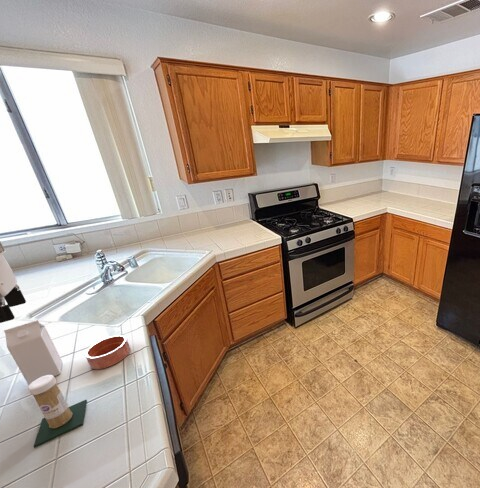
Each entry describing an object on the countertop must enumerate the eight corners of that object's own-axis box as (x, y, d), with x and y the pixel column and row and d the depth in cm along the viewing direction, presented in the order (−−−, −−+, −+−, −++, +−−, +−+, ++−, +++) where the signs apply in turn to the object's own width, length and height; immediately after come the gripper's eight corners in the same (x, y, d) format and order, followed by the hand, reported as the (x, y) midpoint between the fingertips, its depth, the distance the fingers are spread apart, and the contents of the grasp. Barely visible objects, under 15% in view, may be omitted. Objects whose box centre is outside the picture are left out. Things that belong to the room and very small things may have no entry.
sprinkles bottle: (46, 432, 66) (23, 392, 61) (54, 417, 69) (32, 378, 65) (70, 423, 68) (48, 383, 63) (76, 409, 71) (56, 371, 67)
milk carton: (33, 373, 86) (6, 325, 80) (62, 362, 90) (39, 315, 84) (29, 386, 81) (0, 336, 74) (60, 374, 85) (35, 325, 79)
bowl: (88, 376, 83) (83, 363, 82) (92, 356, 92) (87, 344, 90) (131, 359, 90) (126, 347, 88) (130, 342, 98) (126, 331, 97)
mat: (34, 448, 63) (33, 446, 63) (43, 420, 70) (42, 418, 70) (83, 424, 68) (82, 423, 67) (87, 400, 75) (86, 399, 74)
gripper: (-29, 246, 67) (2, 304, 73) (-66, 266, 54) (-25, 335, 60) (14, 239, 71) (40, 294, 77) (-12, 257, 58) (22, 322, 64)
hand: (12, 312), depth 68 cm, fingers open, 9 cm apart
